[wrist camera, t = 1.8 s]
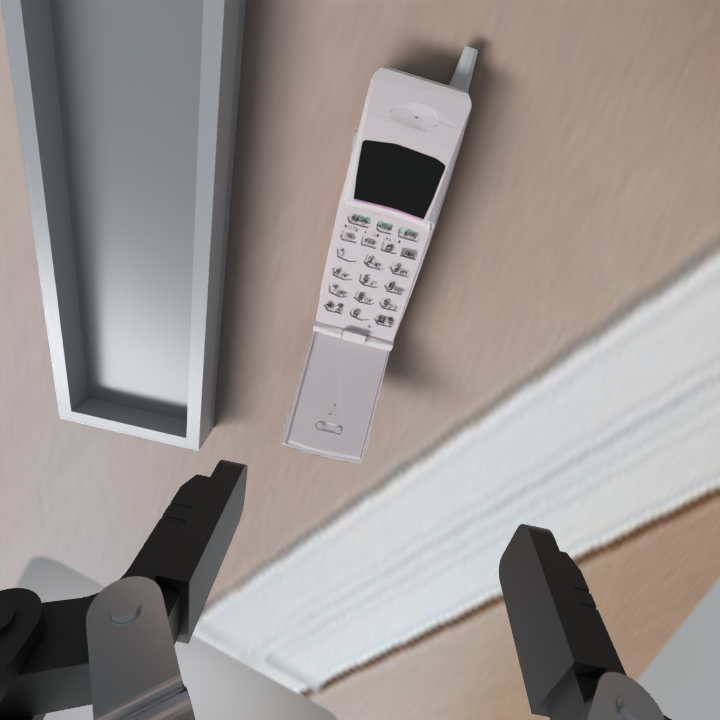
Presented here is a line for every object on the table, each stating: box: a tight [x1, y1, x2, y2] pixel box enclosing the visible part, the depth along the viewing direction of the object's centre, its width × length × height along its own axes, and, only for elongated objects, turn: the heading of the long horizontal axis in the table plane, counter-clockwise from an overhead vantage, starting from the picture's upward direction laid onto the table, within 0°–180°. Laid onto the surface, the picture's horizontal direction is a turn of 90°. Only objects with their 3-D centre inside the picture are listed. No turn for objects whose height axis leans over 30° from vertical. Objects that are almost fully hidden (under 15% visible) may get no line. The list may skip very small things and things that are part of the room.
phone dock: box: [1, 0, 247, 451], centre depth 27 cm, size 30×11×3 cm, turn 167°
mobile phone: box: [282, 46, 478, 463], centre depth 25 cm, size 6×6×25 cm
